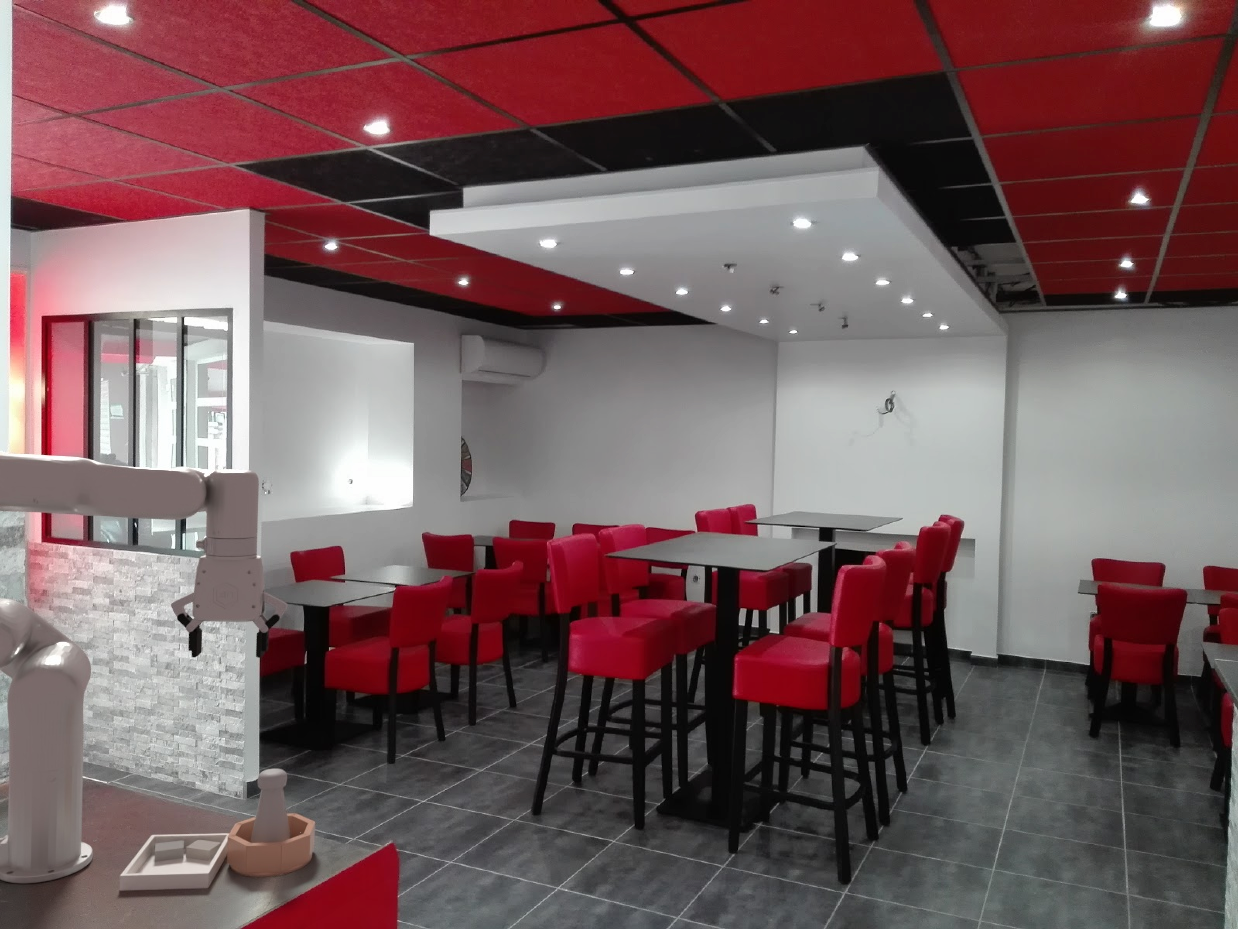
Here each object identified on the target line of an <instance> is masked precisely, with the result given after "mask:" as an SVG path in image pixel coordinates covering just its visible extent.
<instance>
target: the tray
mask: <svg viewBox="0 0 1238 929" xmlns="http://www.w3.org/2000/svg"><path fill="white" fill-rule="evenodd" d="M229 833H230V832H229ZM229 833H223V832H221V833H220V832H219V833H189V834H188V833H187V834H186V833H185V834H179V833H178V834H176V833H175V834H151V835H150V836H149V838H148V839H147V840H146V842H145V843H144V844H143V846H142V847H141V848H140V850H139V851H138V852H137V854H135V855H134V857H133V858H132V860H131V861H130V862H129V863H128V864H127V866H126V867H125V869H124V870H123V871H122V872H121V873H120V875H119V891H120V892H121V891H124V892H125V891H147V890H148V891H151V890H152V891H153V890H159V891H160V890H182V889H183V890H184V889H185V890H186V889H188V890H190V889H209V887H210V886H211V884H212V883H213V880H214V878H216V875H217V873H218V872H219V869H220V868H221V866H222V864H224V862H225V859H227V841H228V835H229ZM181 840H184V855H183V858H181V859H173V860H165V861H157V862H155V844H156V843H164V842H172V841H181ZM197 840H206V841H213V842H221V846H220V848H219V850H218V851H217V853H216V855H215V856H214V858H212V859H211V860H210V861H207V860H200V859H192V858H186V847H187V846H189V845H190V844H192V843H193V842H195V841H197Z"/></svg>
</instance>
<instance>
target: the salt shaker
mask: <svg viewBox="0 0 1238 929" xmlns="http://www.w3.org/2000/svg"><path fill="white" fill-rule="evenodd" d="M287 781H288V774H287V772H286V771H285V770H284V769H282V768H268V769H264V770H263V771H261V772H260V773H258V777H257V787H258V788H259V789H260V795H259V799H258V803H257V804H258V805H257V809H256V814H255V817H256V818H255V823H254V827H253V832H252V837H251V841H250V843H273V842H282V841H285V840H288V839H290V831H289V824H288V817H287V814H288V812H287V805H286V799H285V798H286V797H285V792H284V787H285V786H286V785H287Z"/></svg>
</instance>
